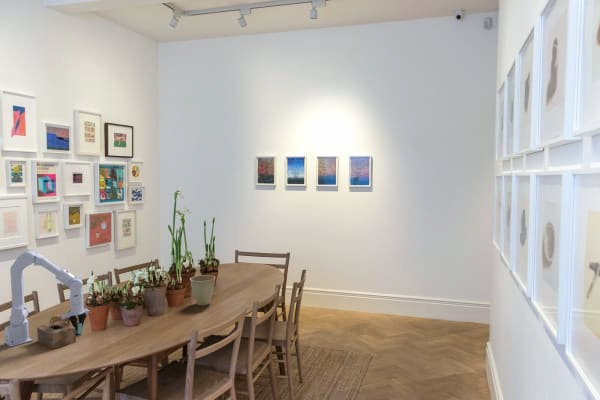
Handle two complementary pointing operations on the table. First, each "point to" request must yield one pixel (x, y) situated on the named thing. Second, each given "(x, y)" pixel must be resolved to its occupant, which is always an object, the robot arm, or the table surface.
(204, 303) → the plant pot
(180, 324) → the table surface
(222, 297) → the table surface
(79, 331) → the cylinder
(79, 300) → the robot arm
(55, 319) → the lion figurine
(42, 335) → the box
